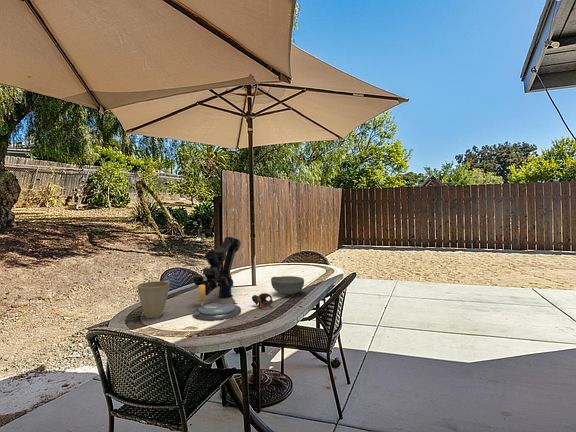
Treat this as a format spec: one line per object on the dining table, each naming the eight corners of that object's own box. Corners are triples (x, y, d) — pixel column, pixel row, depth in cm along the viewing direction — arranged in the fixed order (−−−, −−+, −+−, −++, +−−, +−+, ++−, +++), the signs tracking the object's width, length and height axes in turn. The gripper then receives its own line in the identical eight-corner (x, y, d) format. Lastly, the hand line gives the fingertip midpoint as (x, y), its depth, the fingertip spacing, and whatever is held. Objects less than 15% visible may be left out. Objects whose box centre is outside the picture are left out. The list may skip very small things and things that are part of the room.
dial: (239, 305, 185) (239, 282, 185) (227, 316, 167) (226, 290, 167) (206, 304, 189) (206, 281, 188) (191, 314, 171) (190, 289, 171)
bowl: (291, 300, 200) (291, 283, 199) (264, 295, 212) (264, 279, 212) (310, 293, 216) (310, 277, 215) (284, 288, 228) (284, 273, 228)
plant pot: (151, 322, 165) (150, 289, 164) (131, 317, 172) (130, 285, 172) (176, 314, 177) (175, 282, 177) (157, 309, 185) (156, 279, 185)
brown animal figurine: (274, 304, 193) (275, 294, 189) (268, 317, 185) (270, 306, 181) (253, 298, 195) (254, 287, 191) (247, 310, 187) (248, 299, 183)
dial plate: (223, 303, 195) (223, 300, 195) (250, 312, 178) (250, 309, 178) (183, 313, 178) (183, 310, 178) (208, 324, 161) (208, 320, 161)
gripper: (193, 261, 191) (184, 286, 180) (226, 262, 187) (218, 287, 177) (200, 273, 199) (191, 297, 188) (231, 273, 195) (224, 298, 185)
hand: (206, 295), depth 184 cm, fingers closed
